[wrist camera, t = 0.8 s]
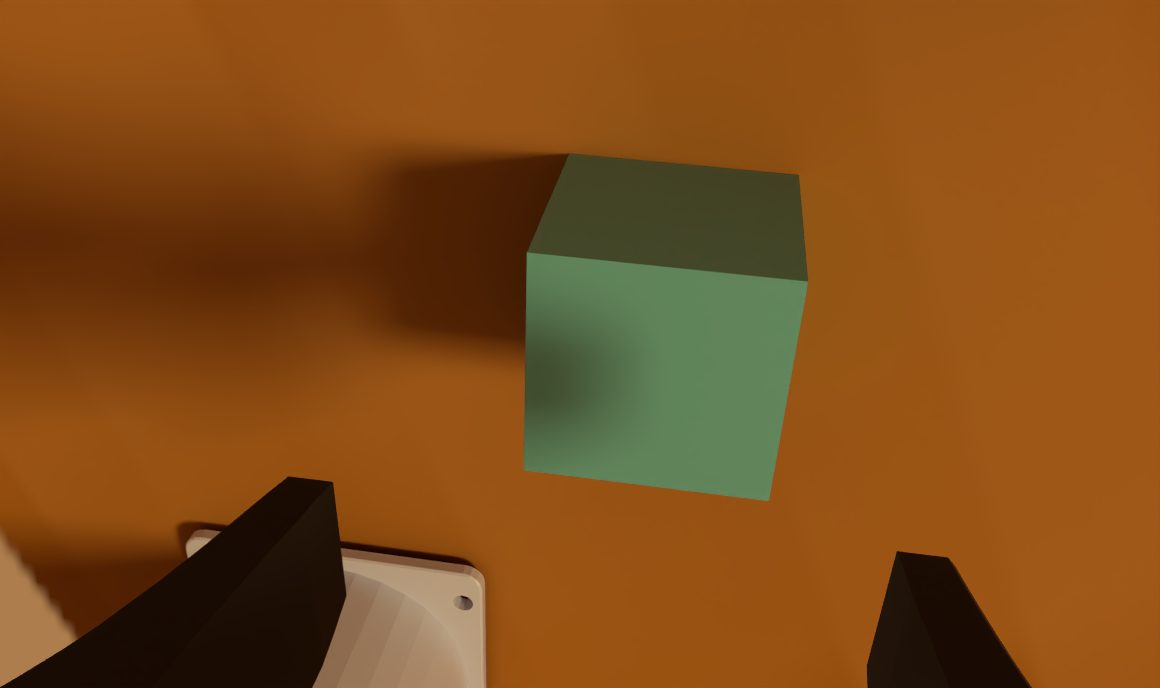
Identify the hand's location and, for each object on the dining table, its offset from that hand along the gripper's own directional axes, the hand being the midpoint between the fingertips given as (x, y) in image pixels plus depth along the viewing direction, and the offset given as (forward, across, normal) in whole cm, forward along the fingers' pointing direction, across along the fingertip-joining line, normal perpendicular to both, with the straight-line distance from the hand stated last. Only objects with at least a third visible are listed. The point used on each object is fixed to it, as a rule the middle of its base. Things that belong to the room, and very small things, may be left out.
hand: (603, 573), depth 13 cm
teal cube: (+10, 0, 0) cm, 10 cm away
